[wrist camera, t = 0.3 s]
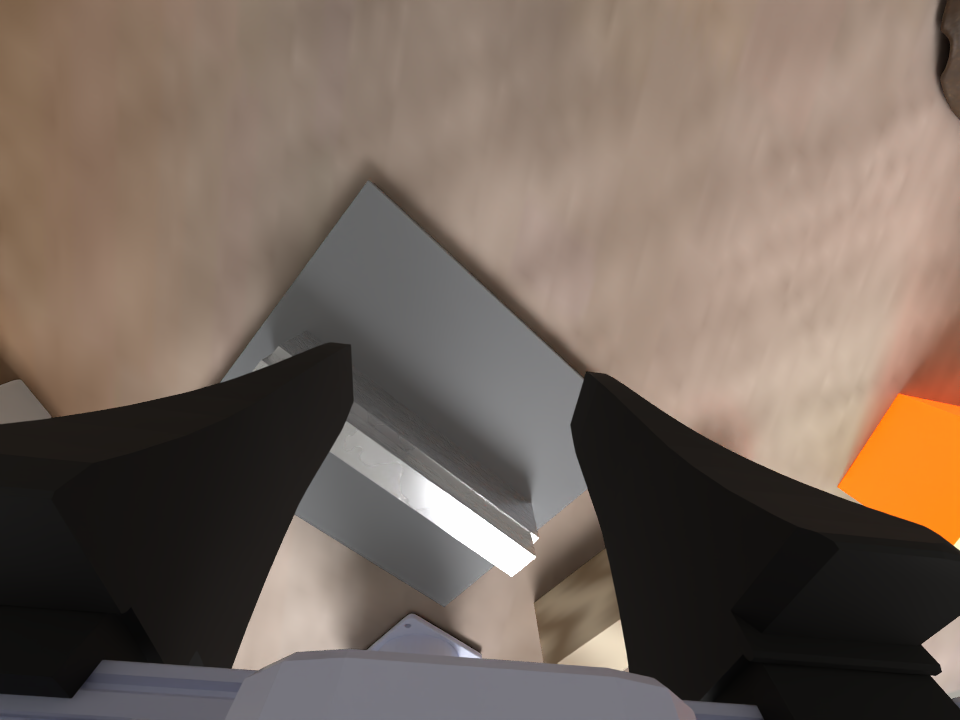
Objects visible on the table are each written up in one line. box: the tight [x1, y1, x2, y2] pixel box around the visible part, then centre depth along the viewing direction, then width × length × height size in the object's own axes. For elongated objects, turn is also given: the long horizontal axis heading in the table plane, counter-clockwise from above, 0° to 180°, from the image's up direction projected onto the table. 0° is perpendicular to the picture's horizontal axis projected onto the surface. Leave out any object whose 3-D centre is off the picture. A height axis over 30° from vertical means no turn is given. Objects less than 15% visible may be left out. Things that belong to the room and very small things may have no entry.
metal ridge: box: [252, 330, 539, 576], centre depth 20 cm, size 3×18×4 cm, turn 47°
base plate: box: [220, 180, 588, 607], centre depth 23 cm, size 20×22×1 cm
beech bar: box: [534, 548, 628, 671], centre depth 25 cm, size 16×4×5 cm, turn 138°
